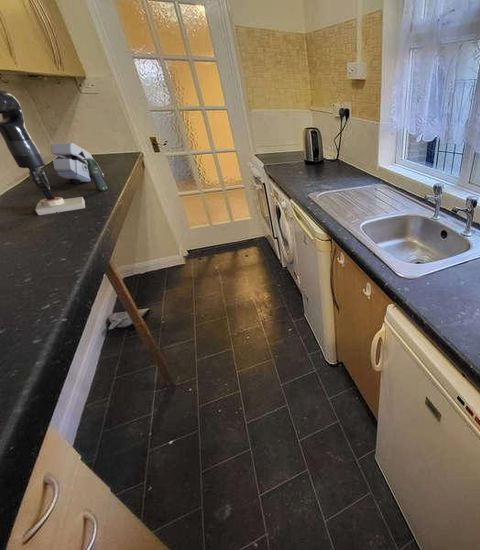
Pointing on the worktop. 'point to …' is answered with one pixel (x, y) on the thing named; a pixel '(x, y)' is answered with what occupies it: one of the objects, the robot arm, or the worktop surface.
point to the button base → (59, 205)
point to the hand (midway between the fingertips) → (51, 199)
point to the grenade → (96, 174)
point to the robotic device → (71, 162)
